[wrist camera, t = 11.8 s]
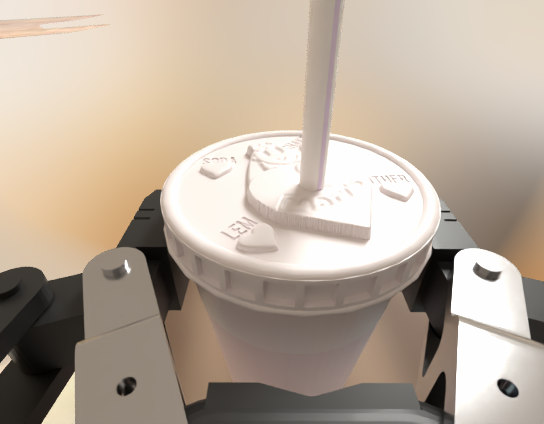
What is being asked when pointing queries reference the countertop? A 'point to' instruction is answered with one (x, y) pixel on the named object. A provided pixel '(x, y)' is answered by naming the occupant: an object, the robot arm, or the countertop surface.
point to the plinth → (369, 369)
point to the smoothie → (299, 235)
